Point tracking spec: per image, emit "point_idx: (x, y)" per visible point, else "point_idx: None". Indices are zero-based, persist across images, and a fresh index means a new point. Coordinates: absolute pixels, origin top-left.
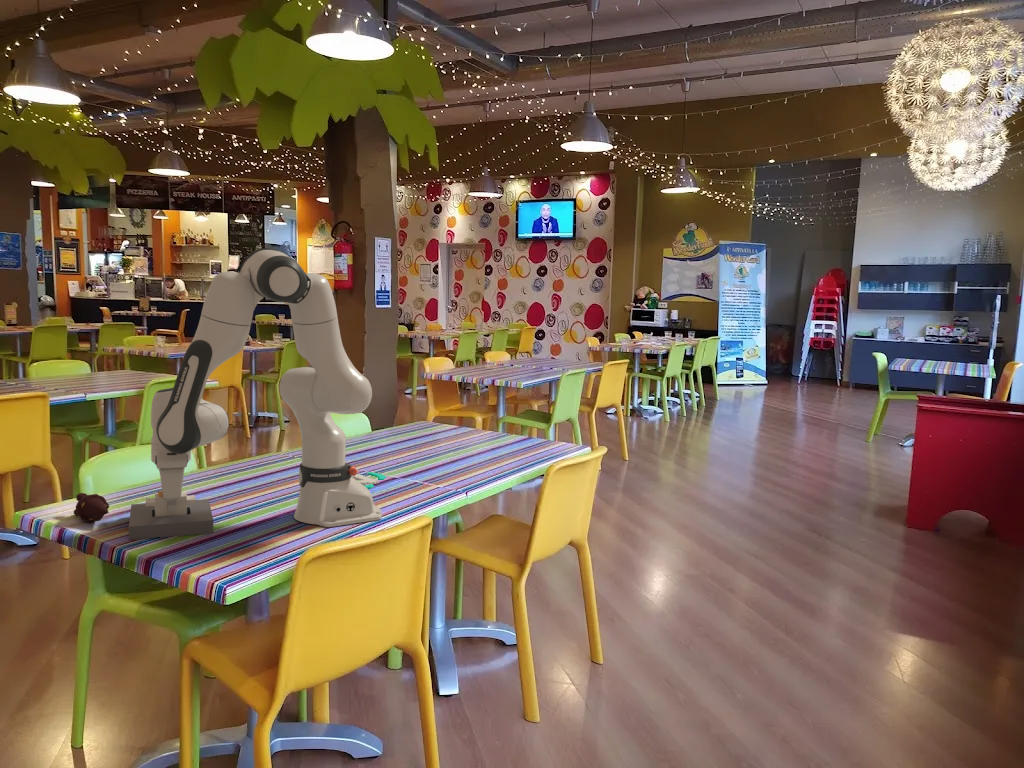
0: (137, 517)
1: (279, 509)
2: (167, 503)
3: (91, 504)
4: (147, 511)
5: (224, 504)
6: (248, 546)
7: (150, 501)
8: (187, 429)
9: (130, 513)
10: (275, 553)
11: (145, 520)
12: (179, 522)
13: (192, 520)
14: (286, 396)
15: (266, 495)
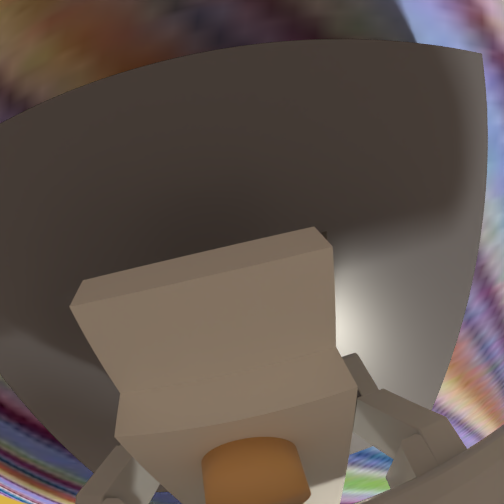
0: (75, 161)
1: (344, 490)
2: (100, 465)
3: None
4: (277, 201)
5: (447, 394)
6: (48, 484)
7: (152, 346)
8: None
9: (219, 51)
10: (35, 499)
11: (11, 256)
12: (44, 424)
13: (92, 457)
14: None
15: (460, 433)
